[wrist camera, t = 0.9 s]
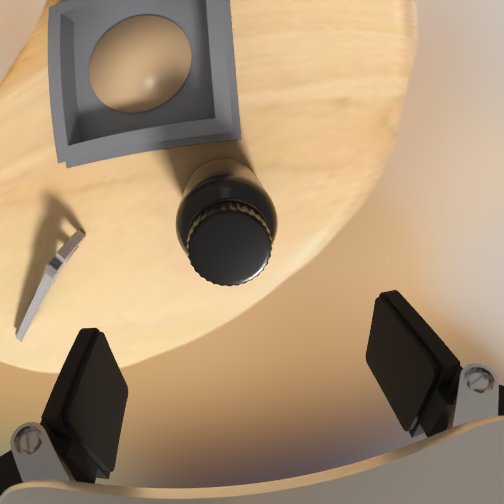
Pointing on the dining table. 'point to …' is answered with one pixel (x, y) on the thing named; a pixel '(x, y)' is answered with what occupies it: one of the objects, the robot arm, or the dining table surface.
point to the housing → (140, 76)
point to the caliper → (50, 279)
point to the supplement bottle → (226, 223)
